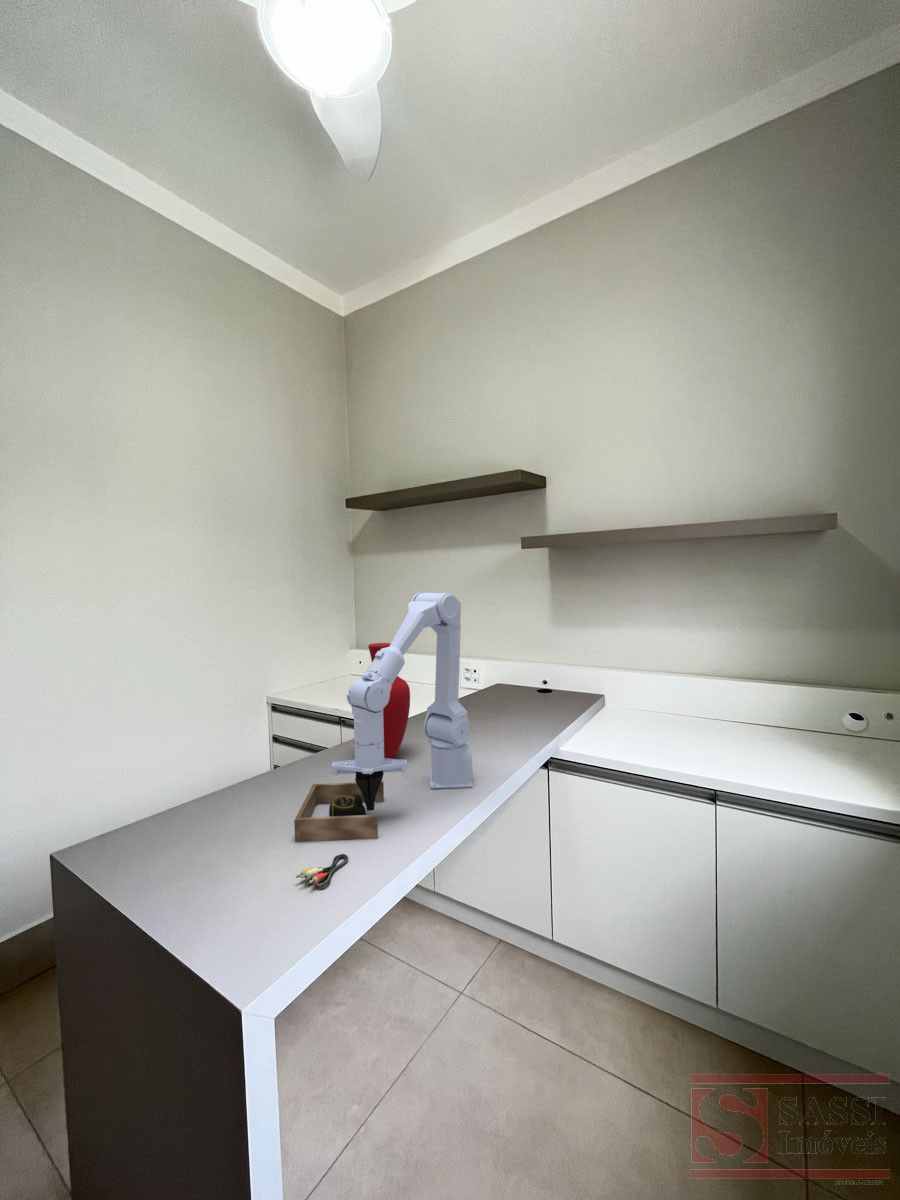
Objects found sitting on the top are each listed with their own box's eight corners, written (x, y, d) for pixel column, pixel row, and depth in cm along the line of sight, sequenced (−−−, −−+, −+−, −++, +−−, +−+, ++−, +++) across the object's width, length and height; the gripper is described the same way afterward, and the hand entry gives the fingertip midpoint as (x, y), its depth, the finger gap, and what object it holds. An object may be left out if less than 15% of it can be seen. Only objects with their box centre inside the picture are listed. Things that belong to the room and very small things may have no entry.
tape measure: (366, 826, 95) (366, 806, 95) (330, 831, 93) (329, 812, 93) (363, 810, 102) (362, 792, 102) (328, 814, 100) (328, 796, 100)
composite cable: (341, 857, 85) (341, 843, 85) (361, 866, 82) (361, 851, 82) (293, 887, 77) (293, 871, 77) (314, 898, 74) (314, 882, 74)
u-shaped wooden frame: (383, 799, 106) (383, 781, 106) (377, 838, 91) (377, 816, 90) (313, 802, 105) (313, 784, 105) (295, 841, 90) (294, 820, 89)
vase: (422, 757, 131) (420, 643, 129) (376, 772, 121) (373, 650, 119) (389, 743, 142) (387, 639, 140) (344, 757, 131) (341, 644, 130)
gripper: (327, 748, 93) (329, 819, 94) (405, 746, 94) (406, 816, 95) (334, 736, 100) (336, 802, 101) (406, 734, 101) (407, 799, 102)
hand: (370, 808), depth 98 cm, fingers closed
